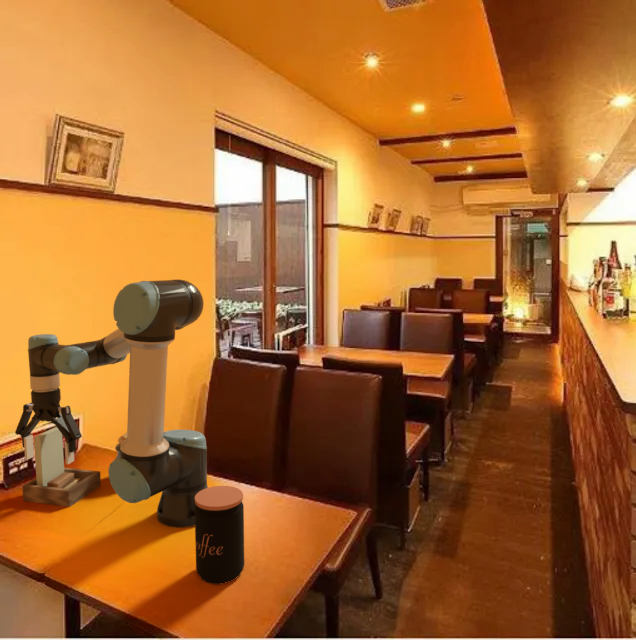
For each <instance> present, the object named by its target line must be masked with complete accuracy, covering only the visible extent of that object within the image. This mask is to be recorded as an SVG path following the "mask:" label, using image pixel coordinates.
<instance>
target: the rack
mask: <svg viewBox="0 0 636 640" xmlns="http://www.w3.org/2000/svg"><path fill="white" fill-rule="evenodd" d="M64 472H67V473H74V478H78V479H80V482H78V483H77V484H75V485H74V486H72V487H70V488H69V489H64V488H56V487H47V486H39V485H37V479H36V477H35V478H34V479H32V480H30V481H28V482H27V483H24V484H23V485H21V486H22V501H23V502H28V503H34V504H43V505H52V506H59V507H67V508H71V507H72V506H73V505H75V504H76V503H78V502H80V501H81V500H83V499H84V498H85V497H87V496H88V495H89V494H91V493H93V492H94V491H96V490H97V489H98V488H100V487H101V486H102V482H101V481H102V480H101V471H98V470H90V469H80V468H71V467H64Z"/></svg>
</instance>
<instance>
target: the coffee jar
mask: <svg viewBox="0 0 636 640" xmlns="http://www.w3.org/2000/svg"><path fill="white" fill-rule="evenodd" d="M243 499H244V492H243V491H242V490H241V489H239V487H238V488H237V487H235V486H229V485H215V486H208V488H206V489H203V490H201V491H199V492H198V493H197V494H196V496H195V504H196V506H195V525H194V530H195V531H194V534H195V539H194V540H195V569H196V570H195V571H196V574H197V575H198V576H199V577H200V579H201V581H204V582H205V583H208V584H211V583H212V584H213V585H221V584H220V583H223V584H226V583H225V582H227V583H229V582H228V581H230V582H232V581H231V580H233V579H234V580H236V579H237V578H238V577H240V575H241V574H240V573H242V572H243V571H244V568H245V525H244V524H245V521H244V520H245V517H244V516H245V514H244V512H245V511H244V510H245V508H244V503H243ZM239 574H240V575H239ZM237 576H238V577H237ZM236 577H237V578H236ZM235 578H236V579H235ZM234 580H233V581H234Z"/></svg>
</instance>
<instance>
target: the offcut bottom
mask: <svg viewBox="0 0 636 640" xmlns="http://www.w3.org/2000/svg"><path fill="white" fill-rule="evenodd" d="M78 482H80V479H78V478H74V482H73V483H71V484H70V485H68V486H67V487H65V488H64V489H69V488H70V487H72V486H74V485H75V484H77V483H78Z"/></svg>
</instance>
